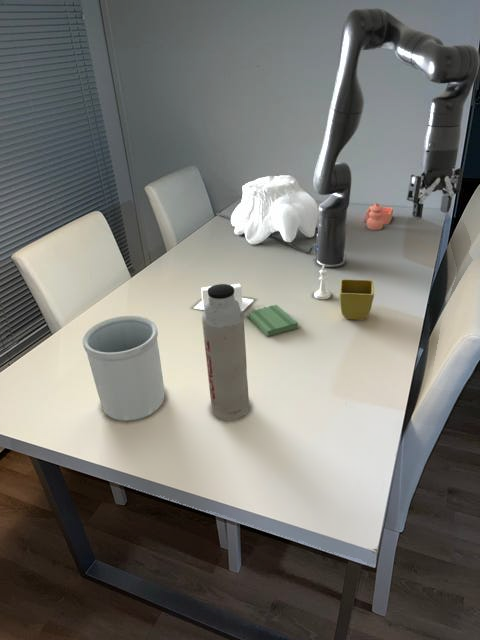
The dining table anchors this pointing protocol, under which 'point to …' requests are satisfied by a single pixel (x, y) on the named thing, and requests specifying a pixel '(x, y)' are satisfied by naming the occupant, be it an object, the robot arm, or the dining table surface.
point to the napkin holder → (237, 296)
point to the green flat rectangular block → (272, 320)
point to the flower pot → (356, 298)
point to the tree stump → (275, 210)
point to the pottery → (378, 216)
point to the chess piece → (322, 286)
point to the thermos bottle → (225, 353)
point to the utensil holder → (126, 366)
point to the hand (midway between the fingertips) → (430, 214)
